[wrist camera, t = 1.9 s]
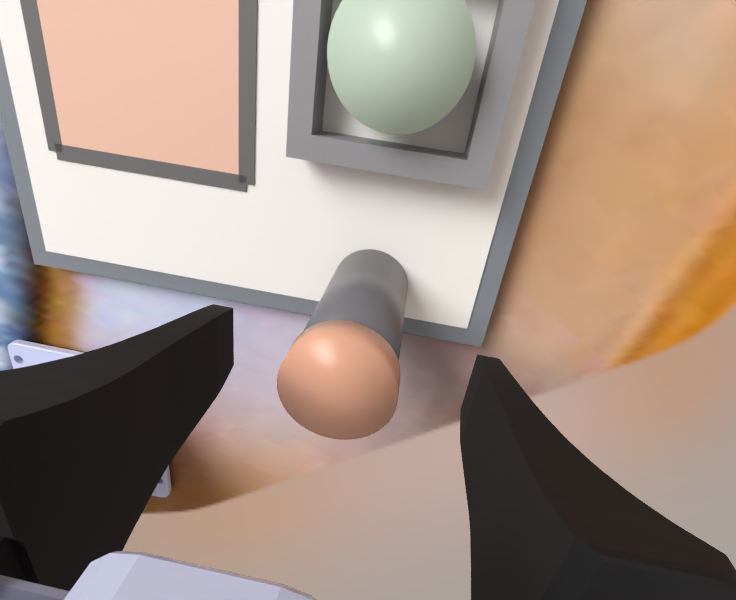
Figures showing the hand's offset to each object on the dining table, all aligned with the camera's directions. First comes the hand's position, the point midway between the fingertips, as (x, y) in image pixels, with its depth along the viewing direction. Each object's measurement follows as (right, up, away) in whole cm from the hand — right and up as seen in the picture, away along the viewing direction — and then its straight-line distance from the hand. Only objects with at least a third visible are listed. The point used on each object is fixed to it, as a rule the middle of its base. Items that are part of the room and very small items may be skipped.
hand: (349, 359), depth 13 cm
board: (-3, +8, +4) cm, 10 cm away
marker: (+1, +2, +5) cm, 6 cm away
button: (+2, +9, 0) cm, 9 cm away
